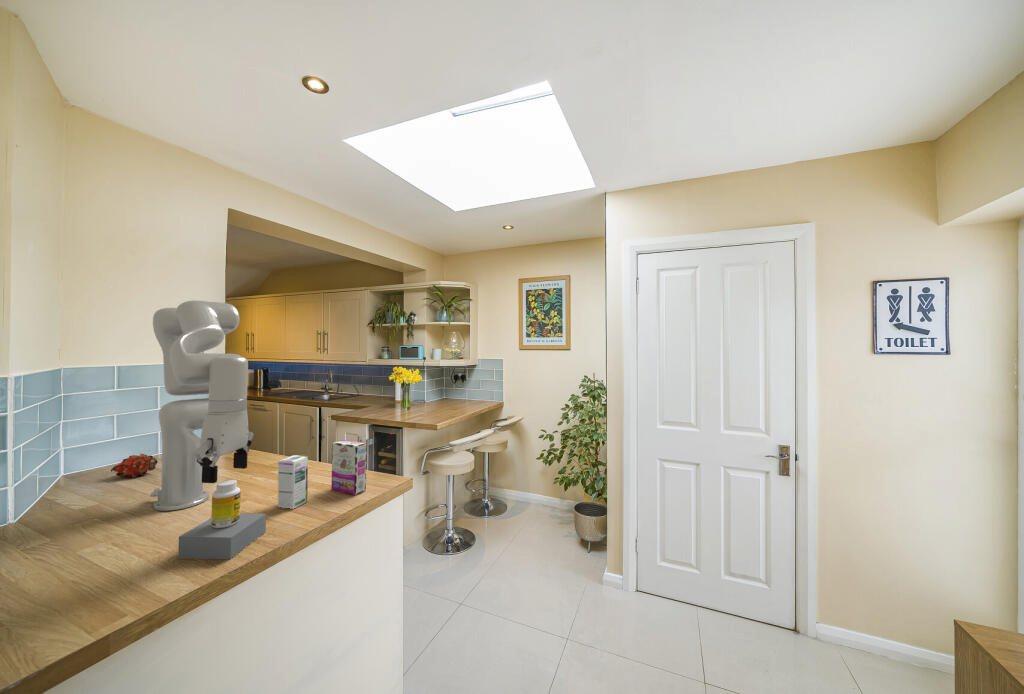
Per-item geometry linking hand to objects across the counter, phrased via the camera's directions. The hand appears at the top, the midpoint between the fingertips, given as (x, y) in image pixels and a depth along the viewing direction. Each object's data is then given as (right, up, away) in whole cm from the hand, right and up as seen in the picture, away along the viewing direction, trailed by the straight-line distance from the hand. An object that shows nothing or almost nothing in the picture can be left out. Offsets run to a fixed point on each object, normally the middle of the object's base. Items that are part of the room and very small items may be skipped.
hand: (225, 475), depth 90 cm
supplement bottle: (0, -12, 0) cm, 12 cm away
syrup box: (+3, -17, +23) cm, 29 cm away
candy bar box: (+15, -18, +35) cm, 42 cm away
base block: (0, -17, 0) cm, 17 cm away
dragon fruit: (-67, -16, +43) cm, 81 cm away
